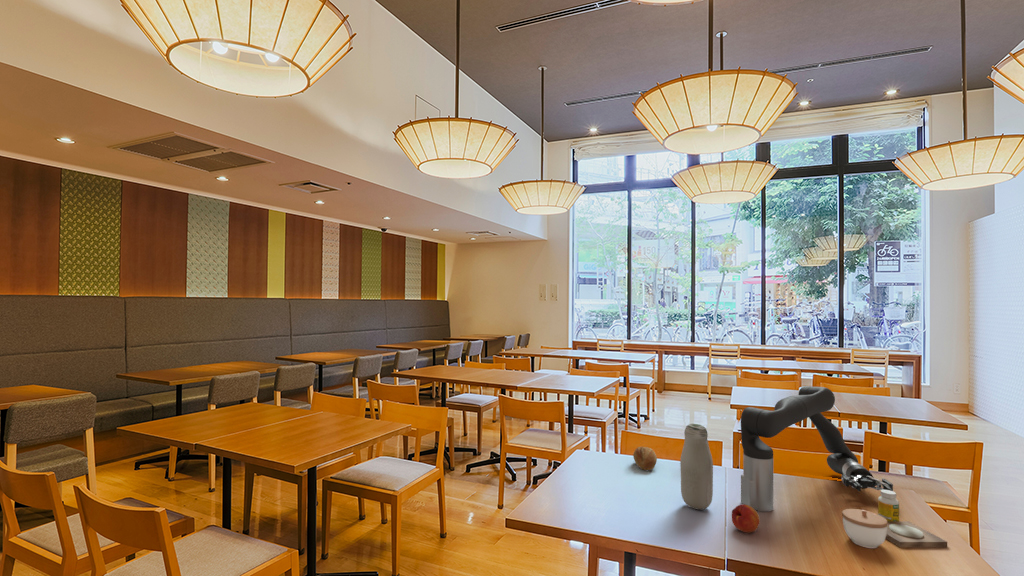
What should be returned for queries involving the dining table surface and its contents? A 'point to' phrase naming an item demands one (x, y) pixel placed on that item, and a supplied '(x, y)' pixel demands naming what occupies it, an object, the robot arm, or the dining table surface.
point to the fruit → (745, 518)
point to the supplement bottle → (888, 505)
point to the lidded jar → (865, 527)
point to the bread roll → (645, 458)
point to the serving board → (911, 535)
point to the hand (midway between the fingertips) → (874, 490)
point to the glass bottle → (696, 468)
